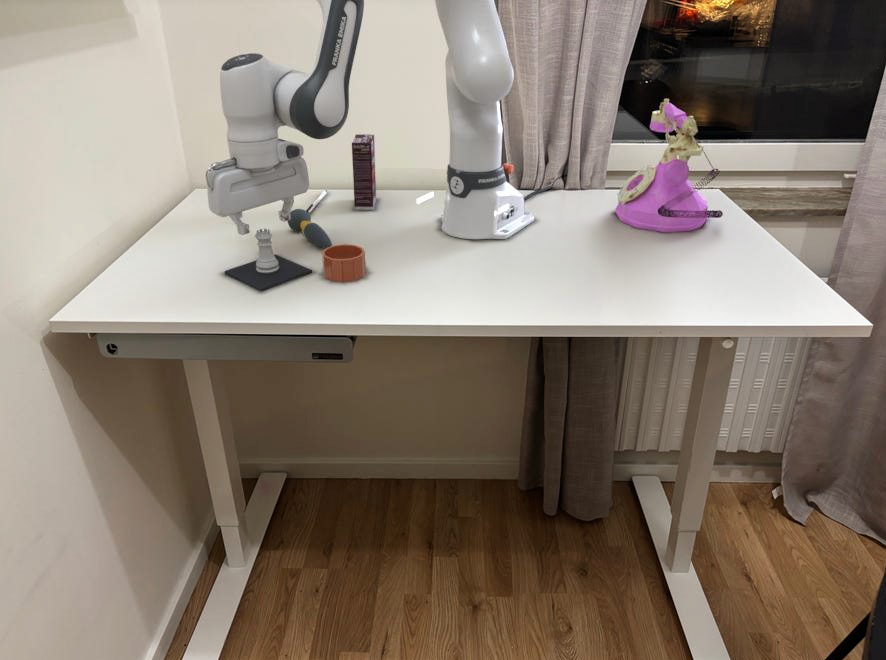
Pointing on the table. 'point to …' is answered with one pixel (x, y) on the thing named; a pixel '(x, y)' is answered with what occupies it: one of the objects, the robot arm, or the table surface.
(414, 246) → the table surface
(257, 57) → the robot arm
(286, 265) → the pad
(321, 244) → the paintbrush
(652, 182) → the telephone
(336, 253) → the brown hollow cylinder
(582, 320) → the table surface
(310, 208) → the pen
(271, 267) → the rook chess piece
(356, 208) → the supplement box
